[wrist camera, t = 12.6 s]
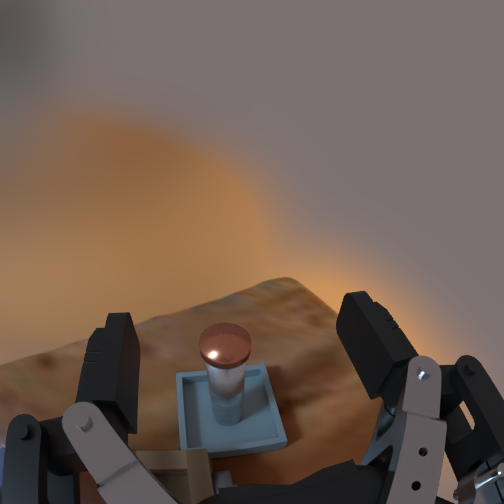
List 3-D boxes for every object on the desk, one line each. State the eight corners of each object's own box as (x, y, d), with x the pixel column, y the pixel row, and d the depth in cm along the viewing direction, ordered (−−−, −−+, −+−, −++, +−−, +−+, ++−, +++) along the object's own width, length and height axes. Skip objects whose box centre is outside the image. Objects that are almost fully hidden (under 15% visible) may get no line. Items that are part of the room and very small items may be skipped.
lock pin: (211, 430, 32) (201, 364, 24) (207, 399, 36) (197, 324, 28) (249, 426, 33) (255, 358, 25) (242, 396, 37) (246, 320, 29)
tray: (184, 460, 29) (181, 454, 28) (178, 382, 39) (176, 372, 38) (285, 447, 31) (287, 441, 30) (263, 373, 42) (264, 363, 40)
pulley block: (137, 534, 19) (119, 530, 16) (133, 465, 27) (116, 449, 24) (247, 531, 21) (247, 529, 18) (232, 461, 29) (230, 445, 26)
